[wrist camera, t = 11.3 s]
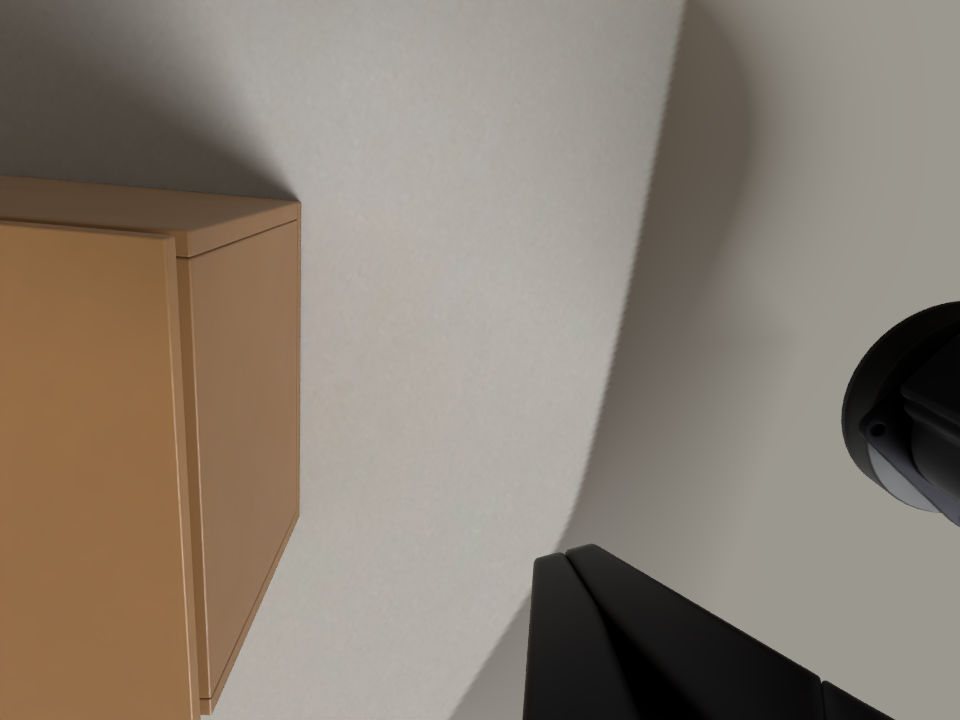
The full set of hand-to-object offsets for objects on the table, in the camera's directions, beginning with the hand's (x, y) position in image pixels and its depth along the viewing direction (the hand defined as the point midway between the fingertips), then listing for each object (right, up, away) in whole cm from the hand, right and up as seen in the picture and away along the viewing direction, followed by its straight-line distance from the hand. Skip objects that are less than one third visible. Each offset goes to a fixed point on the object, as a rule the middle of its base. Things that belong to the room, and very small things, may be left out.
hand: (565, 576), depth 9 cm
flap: (-10, 0, +4) cm, 11 cm away
